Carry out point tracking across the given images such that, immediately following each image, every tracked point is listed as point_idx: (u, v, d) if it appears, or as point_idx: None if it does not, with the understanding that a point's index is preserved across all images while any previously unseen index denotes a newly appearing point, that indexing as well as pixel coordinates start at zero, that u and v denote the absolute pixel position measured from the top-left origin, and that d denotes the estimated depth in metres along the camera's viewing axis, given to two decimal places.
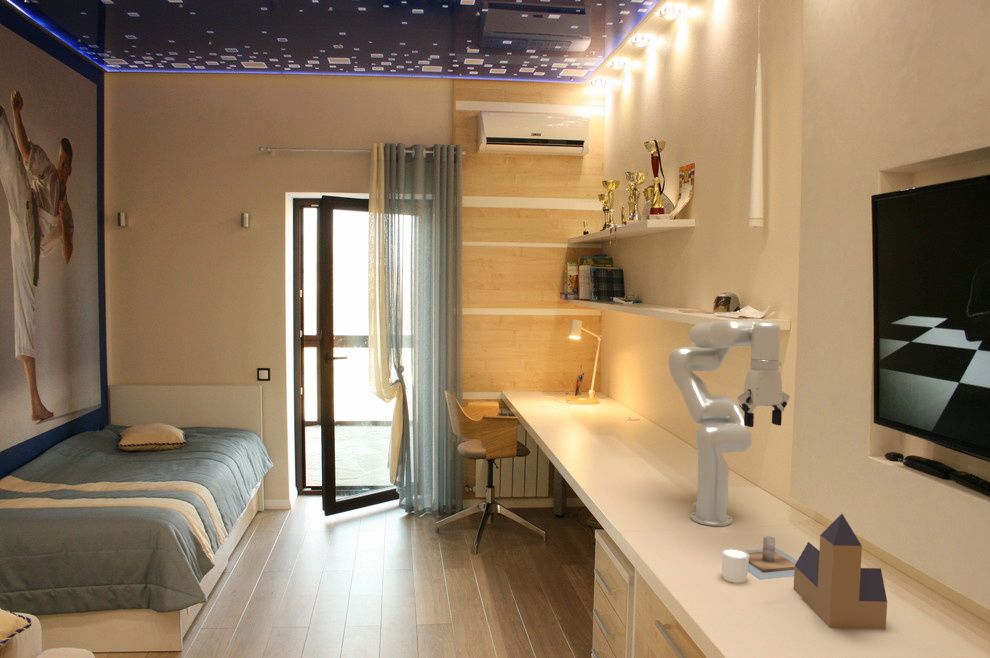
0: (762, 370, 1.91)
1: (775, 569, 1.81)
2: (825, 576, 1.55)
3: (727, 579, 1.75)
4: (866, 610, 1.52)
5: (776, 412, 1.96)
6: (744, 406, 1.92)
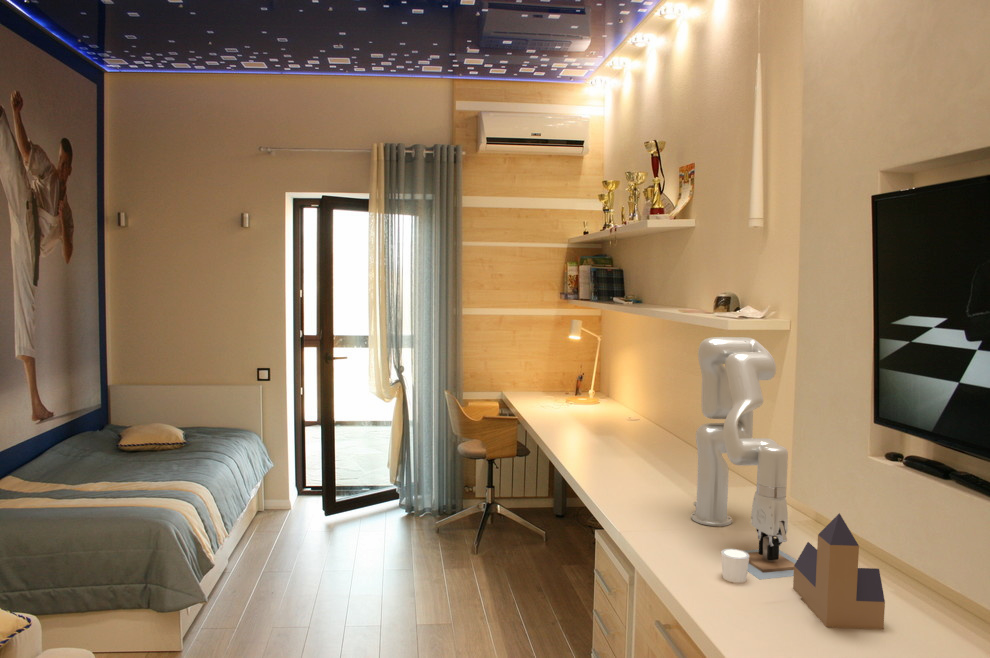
0: (785, 496, 1.83)
1: (775, 569, 1.81)
2: (822, 576, 1.55)
3: (727, 579, 1.75)
4: (864, 610, 1.52)
5: None
6: None
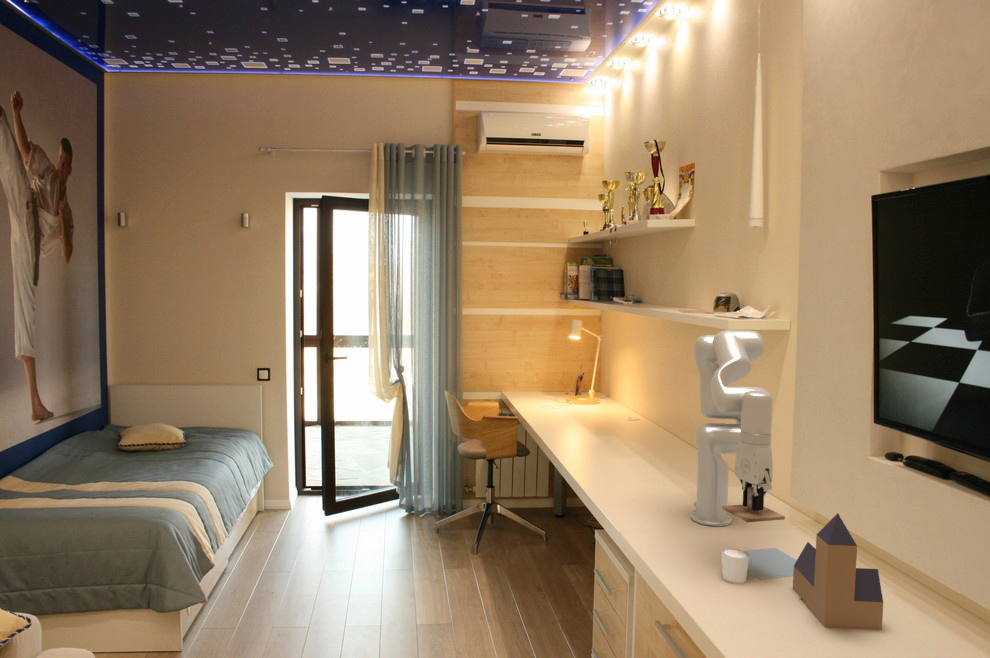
0: (770, 444, 1.77)
1: (760, 519, 1.74)
2: (820, 575, 1.55)
3: (727, 579, 1.75)
4: (862, 610, 1.52)
5: None
6: None
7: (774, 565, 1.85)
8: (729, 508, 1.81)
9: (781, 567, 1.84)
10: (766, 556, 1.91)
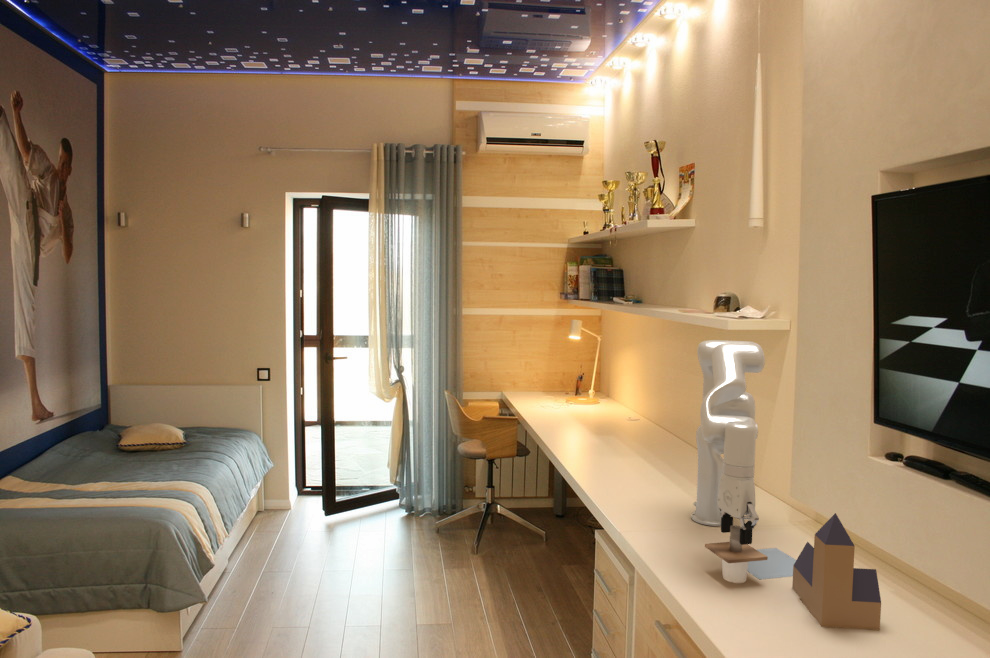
0: (753, 476, 1.72)
1: (742, 560, 1.70)
2: (818, 575, 1.55)
3: (727, 579, 1.75)
4: (860, 610, 1.52)
5: (728, 519, 1.79)
6: None
7: (774, 565, 1.85)
8: (711, 546, 1.78)
9: (781, 567, 1.84)
10: None
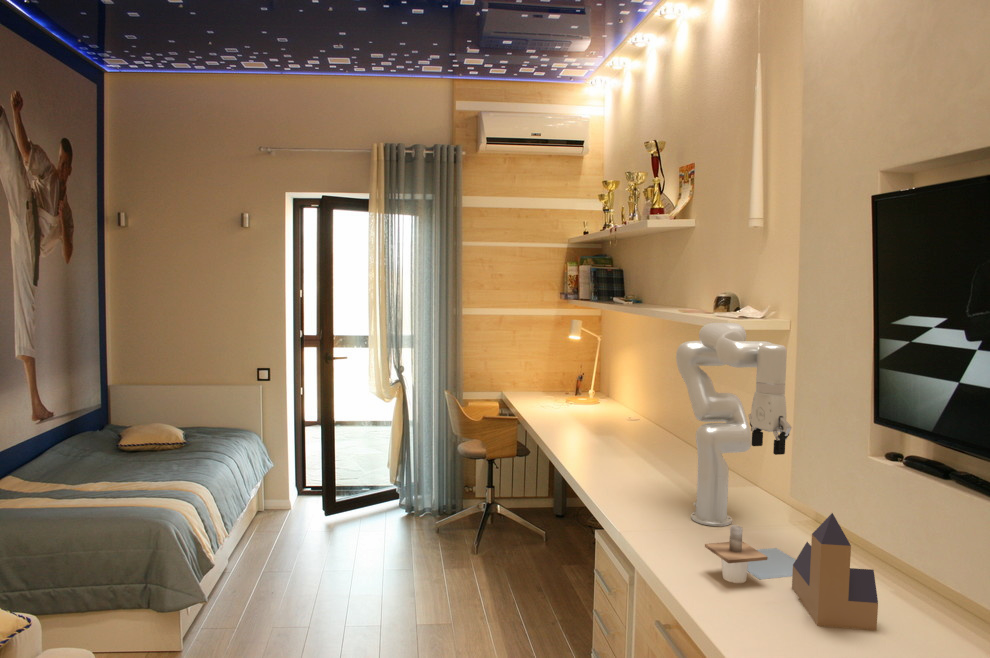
0: (784, 393, 1.87)
1: (742, 560, 1.70)
2: (814, 575, 1.55)
3: (727, 579, 1.75)
4: (856, 610, 1.52)
5: (759, 433, 1.94)
6: None
7: (774, 565, 1.85)
8: (711, 546, 1.78)
9: (781, 567, 1.84)
10: None
